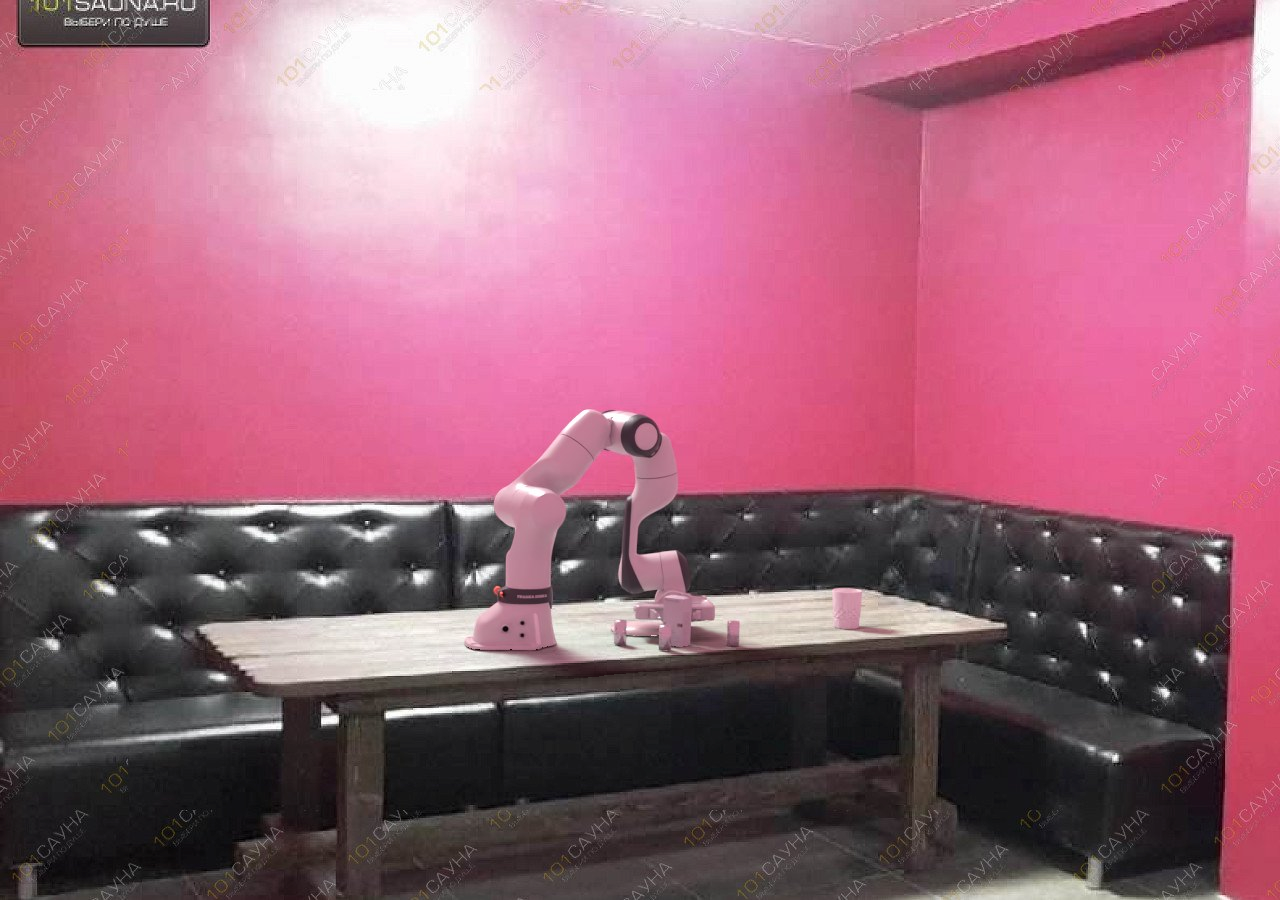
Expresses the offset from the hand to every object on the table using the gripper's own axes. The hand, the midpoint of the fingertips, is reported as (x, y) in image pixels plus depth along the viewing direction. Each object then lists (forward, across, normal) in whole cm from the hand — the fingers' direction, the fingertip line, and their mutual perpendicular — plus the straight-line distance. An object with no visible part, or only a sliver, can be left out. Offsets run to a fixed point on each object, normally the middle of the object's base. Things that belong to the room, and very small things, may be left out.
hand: (676, 616), depth 340 cm
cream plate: (-18, -8, +7) cm, 20 cm away
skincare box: (+1, 0, +7) cm, 7 cm away
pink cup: (-26, +48, +7) cm, 55 cm away
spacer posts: (+2, 0, +7) cm, 7 cm away
